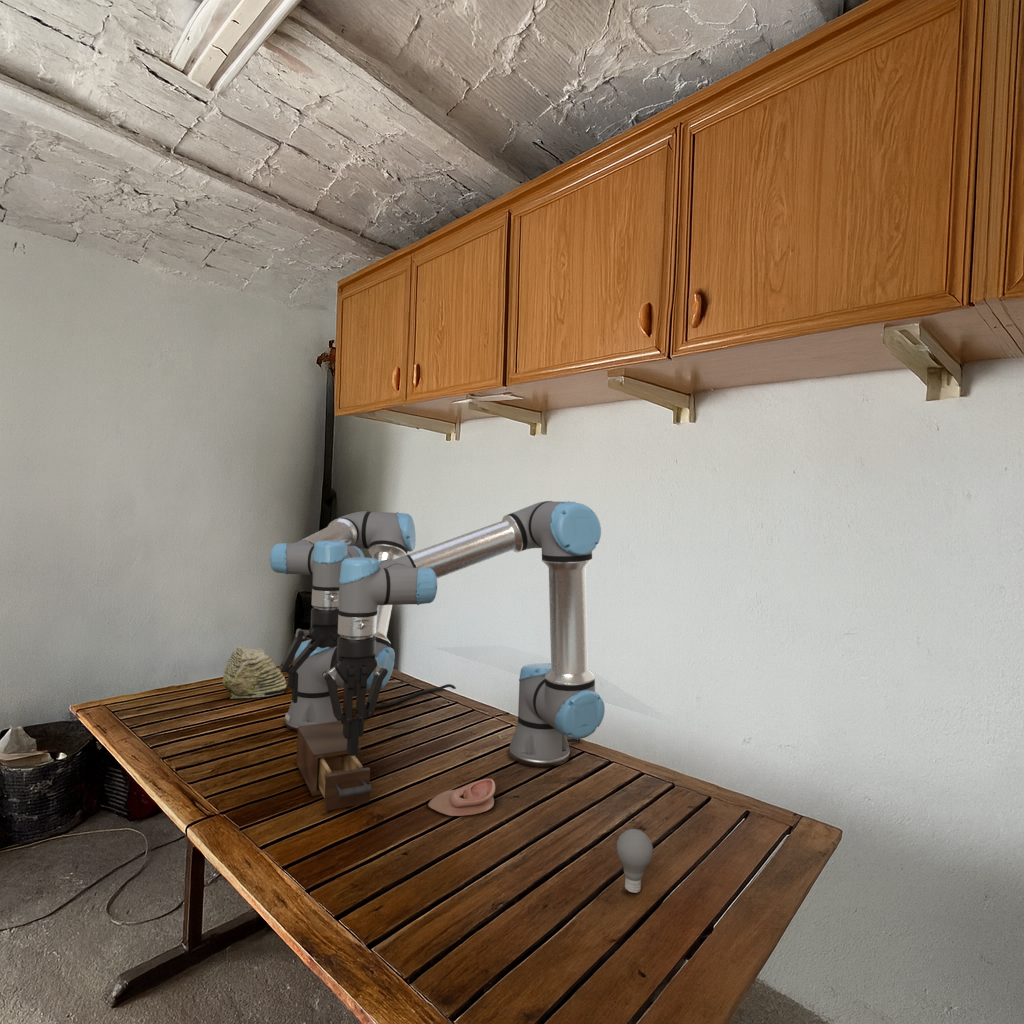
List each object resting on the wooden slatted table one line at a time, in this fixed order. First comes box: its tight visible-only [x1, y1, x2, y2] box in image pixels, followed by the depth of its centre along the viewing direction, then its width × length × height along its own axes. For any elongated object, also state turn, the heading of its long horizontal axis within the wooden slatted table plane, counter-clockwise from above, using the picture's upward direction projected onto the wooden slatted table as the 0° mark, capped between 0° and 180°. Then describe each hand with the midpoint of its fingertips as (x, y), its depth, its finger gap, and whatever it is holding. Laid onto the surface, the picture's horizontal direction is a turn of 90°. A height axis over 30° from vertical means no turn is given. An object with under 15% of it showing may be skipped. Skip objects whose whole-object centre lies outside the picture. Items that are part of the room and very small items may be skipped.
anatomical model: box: [427, 778, 496, 817], centre depth 133 cm, size 13×4×12 cm
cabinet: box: [295, 721, 362, 797], centre depth 144 cm, size 18×10×9 cm, turn 29°
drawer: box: [317, 754, 372, 812], centre depth 133 cm, size 22×9×7 cm, turn 29°
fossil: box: [222, 646, 288, 699], centre depth 198 cm, size 9×18×15 cm, turn 132°
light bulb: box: [615, 828, 654, 894], centre depth 106 cm, size 6×6×10 cm
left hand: (324, 698), depth 148 cm, fingers open, 13 cm apart
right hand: (352, 752), depth 127 cm, fingers closed
